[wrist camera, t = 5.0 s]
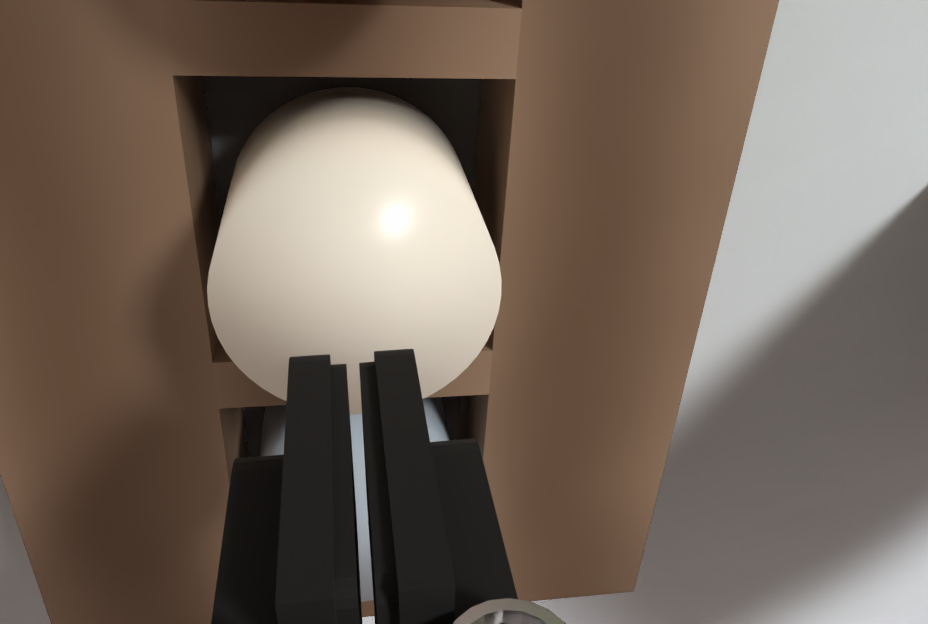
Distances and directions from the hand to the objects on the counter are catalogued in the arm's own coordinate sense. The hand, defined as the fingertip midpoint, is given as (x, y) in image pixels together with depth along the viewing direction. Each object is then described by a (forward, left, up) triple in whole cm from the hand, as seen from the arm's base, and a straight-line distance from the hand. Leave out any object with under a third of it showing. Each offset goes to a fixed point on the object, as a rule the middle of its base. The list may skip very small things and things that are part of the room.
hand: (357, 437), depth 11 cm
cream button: (0, -1, -5) cm, 6 cm away
